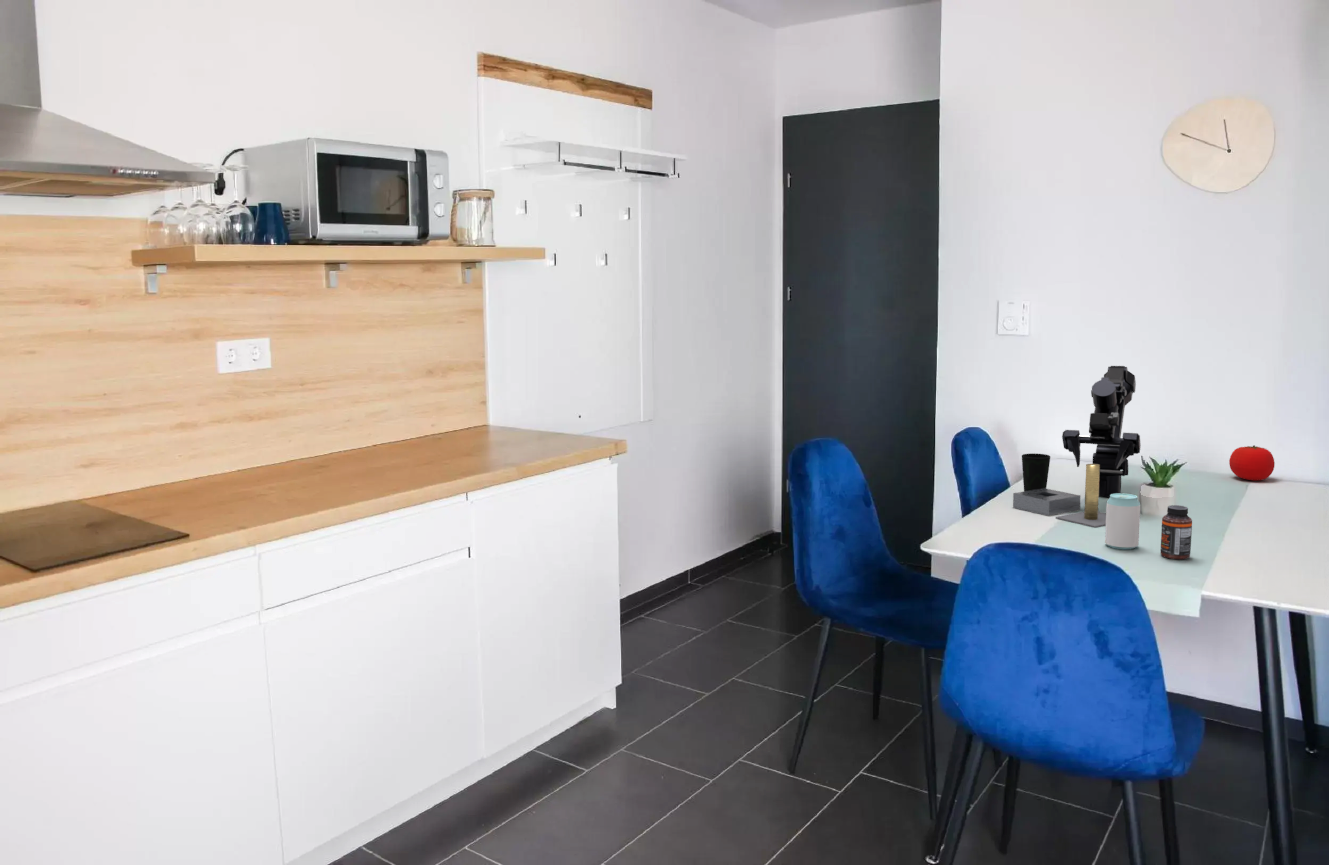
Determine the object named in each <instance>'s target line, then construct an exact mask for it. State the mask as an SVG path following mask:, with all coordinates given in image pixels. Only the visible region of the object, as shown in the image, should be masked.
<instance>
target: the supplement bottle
mask: <svg viewBox="0 0 1329 865" xmlns="http://www.w3.org/2000/svg"><path fill="white" fill-rule="evenodd" d="M1188 511H1189V508H1188V506H1184V505H1177V504H1174V505H1173V504H1172V505H1168V506H1167V510H1166V514H1165V515H1163V516H1162V520H1161V535H1160V536H1161V538H1160V555H1161V556H1162V557H1163V558H1166V559H1171V560H1181V561H1183V560H1187V559H1189V558H1190V557H1191V552H1192V551H1191V548H1192V535H1193V534H1192V533H1193V532H1192V530H1193V519H1192V517H1190V516H1189V515H1188V513H1189V512H1188Z"/></svg>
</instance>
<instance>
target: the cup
mask: <svg viewBox="0 0 1329 865" xmlns="http://www.w3.org/2000/svg"><path fill="white" fill-rule="evenodd" d="M1050 462H1051V456H1050V455H1049V454H1045V453H1023V454H1022V455H1021V466H1022V480H1023V481H1022V482H1023V492H1024V491H1030V490H1036V489H1042V488H1046V489H1047V485H1048V479H1049V470H1050Z"/></svg>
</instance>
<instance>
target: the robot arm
mask: <svg viewBox="0 0 1329 865" xmlns="http://www.w3.org/2000/svg"><path fill="white" fill-rule="evenodd" d="M1136 383H1137V382H1136V375H1134V374H1133V373H1132V372H1130V371H1129V369H1128V367H1127V366H1124V365H1110V366H1108V368H1107V372H1105V373H1104V374H1103V376H1102V377H1101V378H1100V379H1099V380H1098V381H1095V382H1094V384H1093V385H1092V386H1091V390H1090V396H1091V398H1092V402H1093V403H1092V404H1093V407H1094V412H1091V413H1090V414H1089V424H1088V426H1089V428H1088V433H1089V434H1090V435H1082V434H1080V430H1077V429H1065V430H1063V431H1062V435H1061V438H1062V439H1061V440H1062V443H1063V444H1062V445H1063V449H1064V450H1068V452H1069V453H1072V454H1073V456H1074V458H1075V462H1076V467H1077V468H1079V467H1080V463H1081V444H1089V445H1096V449H1095V452H1093V454H1092V464H1099V465H1100V474H1099V496H1100V497H1104V498H1108V499H1109V498H1110V495H1111V494H1116V493H1122V477H1125V476H1129V459H1128V458H1129V457H1130V456H1134V455H1136V454H1140V451H1141V435H1140V434H1139V433H1137V432H1136V433H1135V432H1123V433H1122V429H1123V422H1124V415H1125V407H1126V406H1127V405H1128V404H1129V403H1130V402H1131V401H1132V399H1133V394H1134V393H1135V392H1136V385H1137V384H1136ZM1124 494H1126V493H1124Z"/></svg>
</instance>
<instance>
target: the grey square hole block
mask: <svg viewBox="0 0 1329 865" xmlns="http://www.w3.org/2000/svg"><path fill="white" fill-rule="evenodd" d="M1012 500H1013V501H1012V508H1013V509H1017V510H1022V511H1027V512H1031V513H1035V514H1040V515H1043V516H1048V517H1049V516H1050V517H1051V516H1055V515H1061V514H1066V513H1071V512H1076V511H1081V494H1080V495H1079V494H1075V493H1071V492H1067V491H1066V492H1065V491H1060V490H1056V489H1049V488H1047V487H1046V488H1042V489H1036V490H1030V491H1024V490H1023V491H1019V492H1013V499H1012Z"/></svg>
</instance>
